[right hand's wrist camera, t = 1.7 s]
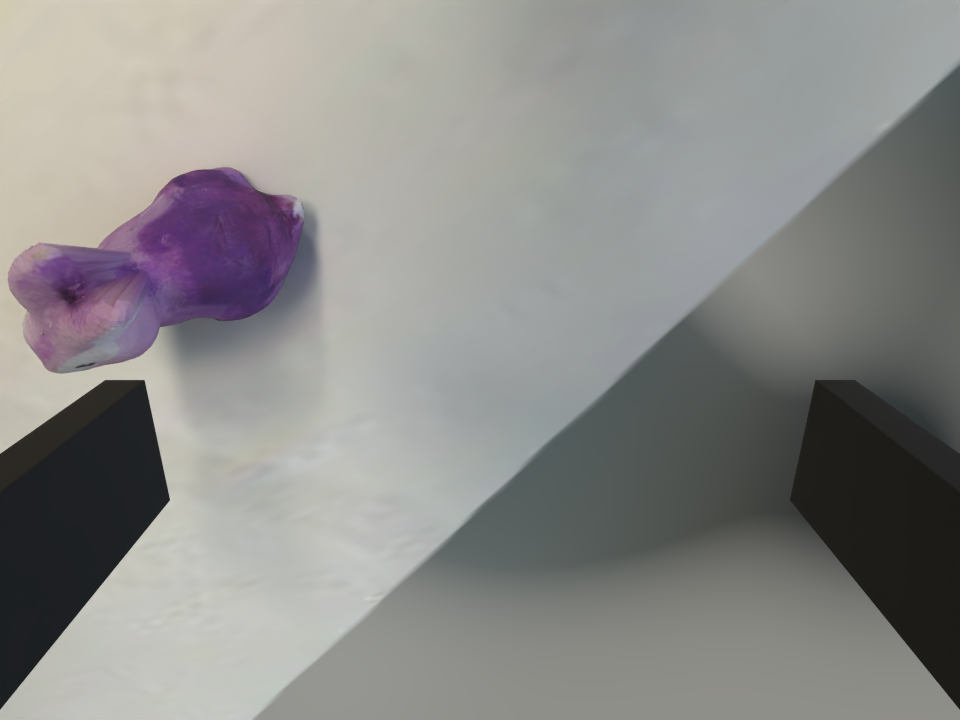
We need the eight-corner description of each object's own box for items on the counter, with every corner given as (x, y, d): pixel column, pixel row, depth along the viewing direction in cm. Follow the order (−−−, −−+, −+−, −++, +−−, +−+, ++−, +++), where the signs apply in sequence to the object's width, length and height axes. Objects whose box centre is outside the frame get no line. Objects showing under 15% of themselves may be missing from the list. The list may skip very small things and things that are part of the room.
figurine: (130, 303, 39) (-67, 407, 25) (156, 138, 35) (-57, 151, 21) (280, 350, 40) (172, 475, 26) (318, 195, 36) (218, 243, 22)
